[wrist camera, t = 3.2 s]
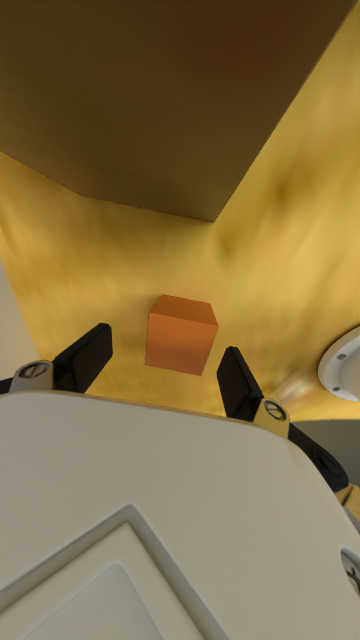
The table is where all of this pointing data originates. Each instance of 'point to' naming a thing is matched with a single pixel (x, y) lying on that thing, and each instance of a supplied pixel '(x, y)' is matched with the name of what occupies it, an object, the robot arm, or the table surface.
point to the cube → (180, 334)
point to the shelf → (154, 91)
